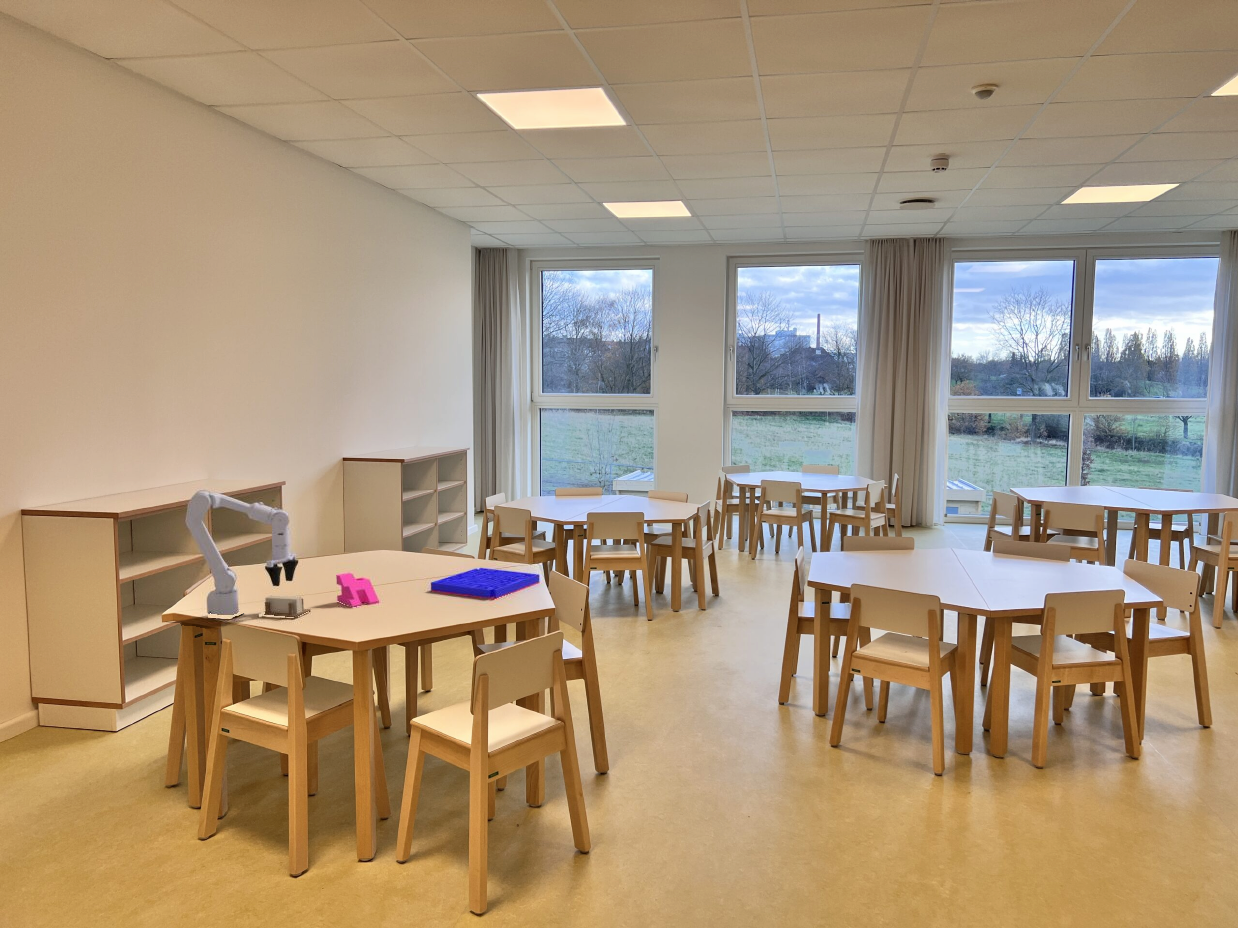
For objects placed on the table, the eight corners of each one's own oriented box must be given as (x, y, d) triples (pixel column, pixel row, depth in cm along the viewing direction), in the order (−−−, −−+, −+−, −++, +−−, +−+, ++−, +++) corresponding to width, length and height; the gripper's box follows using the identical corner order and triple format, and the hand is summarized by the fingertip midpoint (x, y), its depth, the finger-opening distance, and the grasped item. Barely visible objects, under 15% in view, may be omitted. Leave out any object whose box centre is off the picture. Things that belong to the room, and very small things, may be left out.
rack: (258, 616, 283) (257, 602, 282) (274, 610, 292) (274, 596, 291) (295, 618, 280) (294, 604, 279) (310, 612, 289) (309, 597, 288)
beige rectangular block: (266, 611, 286) (265, 597, 285) (271, 609, 288) (270, 595, 288) (297, 613, 283) (296, 599, 283) (302, 611, 286) (301, 597, 285)
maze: (431, 592, 318) (430, 582, 318) (479, 576, 344) (478, 567, 344) (494, 601, 304) (494, 590, 304) (539, 584, 330) (539, 574, 330)
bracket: (337, 602, 302) (336, 574, 301) (363, 597, 309) (362, 570, 309) (352, 608, 294) (351, 580, 293) (379, 603, 301) (378, 575, 300)
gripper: (278, 549, 280) (280, 588, 282) (303, 541, 294) (305, 579, 296) (260, 548, 282) (262, 587, 283) (285, 540, 296) (287, 578, 297)
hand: (282, 583), depth 289 cm, fingers open, 7 cm apart
